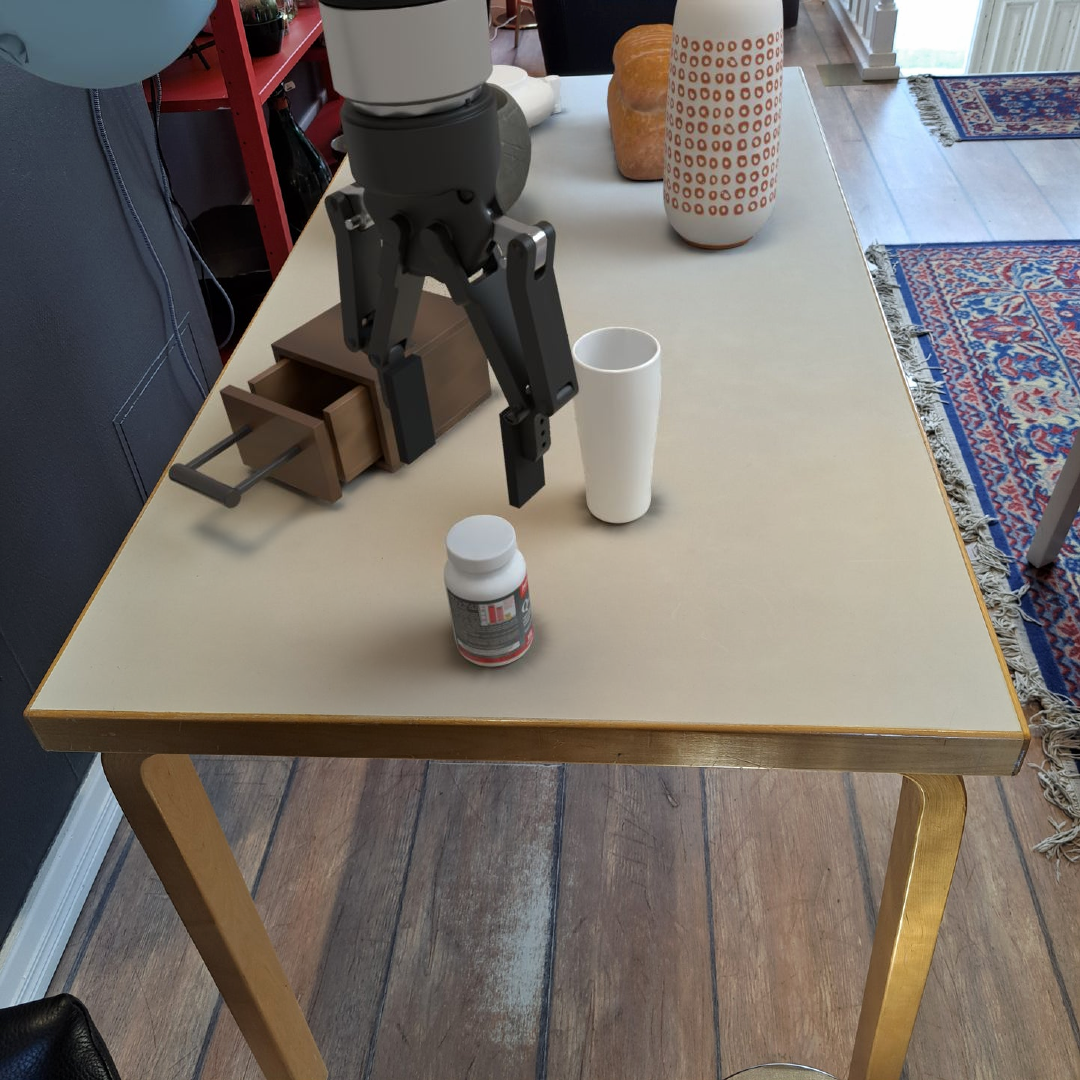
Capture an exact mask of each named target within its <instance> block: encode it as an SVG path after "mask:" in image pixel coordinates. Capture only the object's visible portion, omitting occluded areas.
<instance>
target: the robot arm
mask: <svg viewBox="0 0 1080 1080" xmlns="http://www.w3.org/2000/svg"><path fill="white" fill-rule="evenodd" d="M317 2H318V8H319V13H320V20H321V24H322V29H323V37H324V40H325V46H326V47H325V48H326V53H327V58H328V63H329V69H330V75H331V81H332V85H333V86H332V87H333V90H334V91H335V92H337V93H338V95H340V96H341V97H343V98H344V99H345V100H344V102H343V104H342V105H341V107H340V110H339V117H340V118H339V119H340V122H341V127H342V132H343V133H342V134H343V138H344V144H345V149H346V153H347V158H348V163H349V168H350V169H349V170H350V173H351V176H352V178H353V179H354V181H353V182H352V183H350V184H348V185H345V186H344V187H342V188H340V189H339V190H336V191H334V192H332V193H330V194H327V196H325V197H324V200H323V203H324V209H325V211H326V213H327V217H328V219H329V223H330V225H331V229H332V231H333V234H334V239H335V240H334V241H335V250H336V251H335V252H336V263H337V275H338V276H337V277H338V286H339V300H340V302H341V312H342V324H343V336H344V343H345V345H346V347H347V348H348V349H349V350H350V351H351V352H354V353H356V352H358V351H360V350H361V351H362V352H363V353H365V354H366V355H368V360H369V362H370V364H371V365H372V366H373V367H374V368H376V370H377V374H378V379H379V384H380V387H381V388H380V389H381V392H382V393H381V394H382V399H383V402H384V404H385V406H386V408H387V409H390V414H391V419H392V424H393V429H394V434H395V439H396V443H397V448H398V453H399V458H400V462H403V463H405V464H404V465H408V466H410V465H411V464H412V463H414V462H415V461H416V460H418V459H419V457H422V455H423V454H425V453H426V452H427V451H428V450H430V449H431V448H432V447H434V446H435V445H436V444H437V442H436V441H437V440H436V439H435V435H434V429H433V423H432V417H431V411H430V405H429V399H428V394H427V388H426V382H425V376H424V370H423V364H422V358H421V356H418V355H415V354H410V355H409V356H407V357H406V358H405V354H404V353H405V352H407V351H408V350H409V349H411V348H412V347H414V346H415V345H416V344H417V342H415V343H413V344H410V343H411V342H413V341H414V340H413V339H411V338H412V333H413V329H414V325H415V320H416V316H417V311H418V307H419V303H420V298H421V294H422V290H424V289H423V288H424V284H425V280H426V277H430V278H432V279H433V280H436V281H437V282H438V283H441V284H443V285H445V287H446V289H447V291H448V293H449V295H450V296H449V297H450V298H452V300H453V301H454V303H455V304H456V305H458V306H462V307H463V308H464V309H465V311H466V313H467V315H468V318H469V320H470V322H471V324H472V326H473V328H474V331H475V333H476V335H477V337H478V339H479V341H480V344H481V346H482V348H483V350H484V352H485V355H486V357H487V360H488V364H489V365H490V368H491V369H492V371H493V374H494V376H495V379H496V380H497V382H498V385H499V387H500V389H501V391H502V394H503V395H504V398H505V400H506V403H507V404H508V406H507V407H505V408H504V409H503V410H502V411H501V412H499V413H498V417H499V427H500V435H501V444H502V452H503V453H502V454H503V461H504V471H505V478H506V479H505V480H506V486H507V487H506V489H507V496H508V503H509V504H508V505H509V506H510V507H514V508H516V509H521V508H522V507H523V506H524V505H525V504H526V503H528V502H529V501H530V500H531V499H533V497H534V496H535V495H537V493H539V492H540V491H541V490H542V489H543V488H544V487H545V486H546V475H545V474H546V473H545V463H544V455H545V454H546V453H547V452H548V451H550V448H551V445H552V436H551V423H550V418H551V417H553V416H554V415H556V413H558V411H560V410H561V409H562V408H563V407H564V406H566V405H567V404H568V403H569V402H570V401H571V400H573V397H575V396H576V395H577V394H578V392H579V386H578V381H577V377H576V372H575V367H574V363H573V358H572V353H571V349H572V347H571V344H570V340H569V335H568V331H567V325H566V321H565V315H564V311H563V307H562V302H561V298H560V297H561V296H560V292H559V287H558V282H557V277H556V273H555V268H554V263H555V253H556V250H555V249H556V242H557V241H556V240H557V234H556V232H557V231H556V230H555V227H554V226H553V225H552V224H551V222H549V221H548V220H539V221H538V222H536V223H535V224H533V225H532V226H530V225H528V224H525V223H523V222H521V221H519V220H516V219H514V218H512V217H509V216H508V214H507V212H506V210H505V208H504V206H503V204H502V202H501V200H500V197H499V195H498V192H497V188H496V180H497V174H498V169H499V166H500V162H501V144H500V134H499V123H498V113H497V102H496V94H495V92H494V91H493V90H492V89H491V88H490V87H489V85H488V84H486V83H485V82H486V81H487V80H488V78H489V77H490V76H491V74H492V71H493V66H492V65H493V56H492V47H491V37H490V36H491V35H490V27H489V17H488V6H487V5H488V4H487V0H318V1H317ZM217 4H218V0H0V57H2V58H3V59H4V60H6V61H7V62H9V63H11V64H13V65H15V66H16V67H19V68H21V69H22V70H24V71H26V72H28V73H30V74H31V75H32V74H33V75H34V76H37V77H39V78H42V79H44V80H45V81H49V82H52V83H56V84H60V85H63V86H67V87H68V86H69V87H73V88H74V87H75V88H79V89H80V88H82V89H92V90H93V89H99V90H104V89H105V90H106V89H113V88H121V87H126V86H129V85H133V84H136V83H139V82H143V81H144V80H146V79H148V78H151V77H153V76H155V75H157V74H158V73H160V72H162V71H163V70H164V69H166V68H167V67H169V66H170V65H171V64H173V63H174V62H175V61H176V60H177V59H178V58H179V57H181V56H182V55H183V53H184V52H185V51H186V50H187V49H188V47H189V46H191V44H192V42H193V41H194V39H195V38H196V36H198V35H199V33H200V32H201V31H202V29H203V28H204V27H205V26H206V25H207V21H208V18H209V17H210V16H211V14H212V13H213V11H214V10H215V8H216V7H217ZM481 270H482V273H481V275H479V276H478V277H476V278H475V279H473V280H471V281H470V280H469V279H471V277H473V276H475V275H476V274H478V273H479V272H481ZM363 319H365V321H366V322H365V323H364V324H362V321H363Z"/></svg>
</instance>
